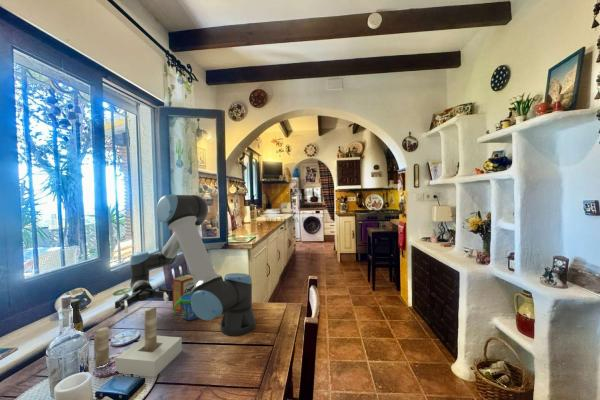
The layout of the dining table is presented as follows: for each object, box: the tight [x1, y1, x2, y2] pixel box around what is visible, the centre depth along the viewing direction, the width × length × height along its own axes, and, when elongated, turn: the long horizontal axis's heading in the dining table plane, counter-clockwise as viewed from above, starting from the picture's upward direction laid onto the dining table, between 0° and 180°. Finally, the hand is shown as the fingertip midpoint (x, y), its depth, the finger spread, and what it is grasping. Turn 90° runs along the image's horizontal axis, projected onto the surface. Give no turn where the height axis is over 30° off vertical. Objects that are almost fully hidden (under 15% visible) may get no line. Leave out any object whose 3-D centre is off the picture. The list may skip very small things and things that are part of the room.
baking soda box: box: [172, 274, 195, 313], centre depth 132 cm, size 10×6×16 cm
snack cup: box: [173, 292, 199, 321], centre depth 120 cm, size 16×10×10 cm
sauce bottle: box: [70, 298, 84, 333], centre depth 90 cm, size 6×6×20 cm
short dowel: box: [93, 334, 96, 360], centre depth 90 cm, size 4×4×8 cm
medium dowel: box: [95, 326, 110, 368], centre depth 85 cm, size 4×4×12 cm
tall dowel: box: [144, 306, 158, 352], centre depth 87 cm, size 4×4×18 cm
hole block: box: [114, 335, 183, 378], centre depth 87 cm, size 14×14×5 cm
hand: (147, 304), depth 97 cm, fingers open, 13 cm apart
